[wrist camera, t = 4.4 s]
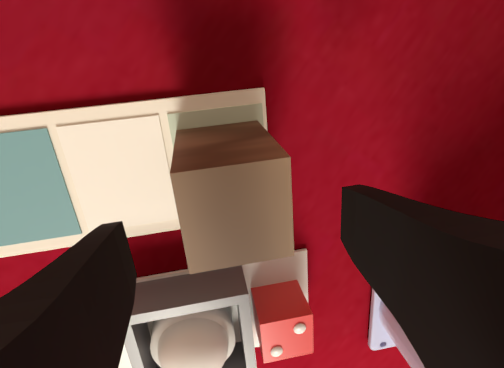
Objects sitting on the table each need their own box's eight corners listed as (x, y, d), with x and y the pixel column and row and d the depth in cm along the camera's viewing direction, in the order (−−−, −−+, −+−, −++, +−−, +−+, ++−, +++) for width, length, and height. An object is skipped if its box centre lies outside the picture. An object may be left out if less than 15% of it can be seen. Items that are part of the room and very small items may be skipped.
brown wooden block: (257, 120, 17) (290, 157, 11) (262, 192, 18) (294, 255, 13) (176, 130, 16) (169, 173, 11) (189, 203, 18) (189, 274, 12)
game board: (263, 87, 16) (265, 88, 16) (271, 212, 19) (273, 215, 19) (-72, 123, 15) (-78, 125, 14) (-9, 256, 17) (-13, 260, 17)
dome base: (305, 248, 21) (325, 282, 18) (308, 333, 24) (325, 376, 21) (86, 286, 19) (67, 331, 16) (117, 373, 22) (106, 425, 19)
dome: (227, 281, 20) (235, 333, 17) (235, 339, 22) (244, 396, 19) (146, 296, 20) (136, 353, 16) (161, 354, 22) (156, 416, 18)
